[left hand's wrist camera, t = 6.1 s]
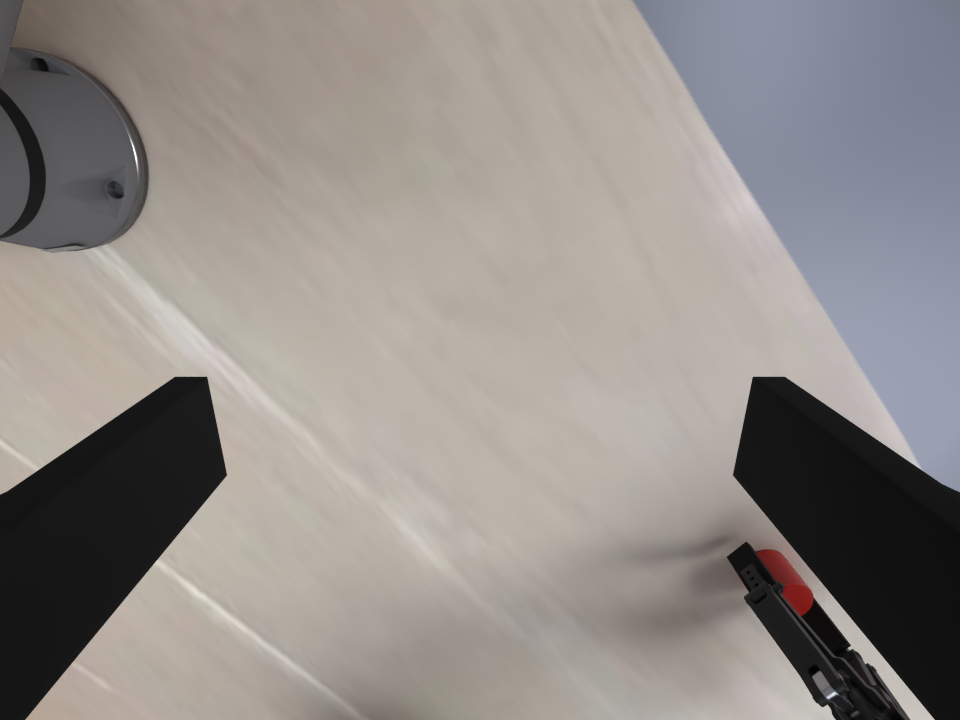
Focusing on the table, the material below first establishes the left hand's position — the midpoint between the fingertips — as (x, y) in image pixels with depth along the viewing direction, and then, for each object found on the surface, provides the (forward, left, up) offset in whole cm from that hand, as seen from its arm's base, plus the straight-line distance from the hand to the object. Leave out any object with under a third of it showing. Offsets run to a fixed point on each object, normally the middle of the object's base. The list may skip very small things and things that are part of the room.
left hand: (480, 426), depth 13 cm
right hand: (+46, +16, -34) cm, 59 cm away
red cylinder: (+46, +16, -35) cm, 60 cm away
